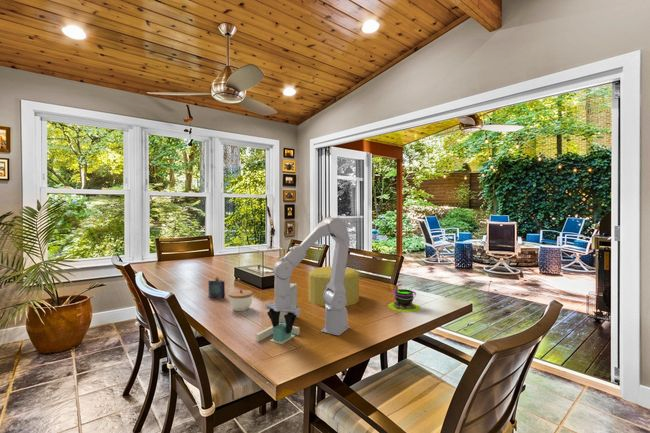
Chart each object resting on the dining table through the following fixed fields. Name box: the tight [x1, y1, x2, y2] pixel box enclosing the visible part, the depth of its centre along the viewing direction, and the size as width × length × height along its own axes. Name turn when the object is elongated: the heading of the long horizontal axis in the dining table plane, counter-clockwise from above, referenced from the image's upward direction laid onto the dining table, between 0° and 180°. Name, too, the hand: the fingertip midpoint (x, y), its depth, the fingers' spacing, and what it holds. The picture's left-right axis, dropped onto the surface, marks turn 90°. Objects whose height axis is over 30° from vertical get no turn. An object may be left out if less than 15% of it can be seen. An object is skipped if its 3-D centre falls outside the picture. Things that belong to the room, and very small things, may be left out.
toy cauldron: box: [387, 283, 421, 313], centre depth 155 cm, size 15×15×11 cm
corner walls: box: [255, 322, 300, 343], centre depth 119 cm, size 13×10×2 cm
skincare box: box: [279, 282, 299, 323], centre depth 137 cm, size 8×6×15 cm
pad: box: [269, 334, 296, 345], centre depth 118 cm, size 8×6×1 cm
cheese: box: [308, 265, 360, 307], centre depth 167 cm, size 26×26×15 cm
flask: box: [207, 276, 226, 299], centre depth 170 cm, size 9×3×11 cm, turn 76°
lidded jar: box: [228, 288, 254, 312], centre depth 151 cm, size 11×11×9 cm
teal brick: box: [272, 322, 291, 342], centre depth 118 cm, size 6×4×4 cm, turn 150°
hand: (282, 331), depth 118 cm, fingers open, 5 cm apart
